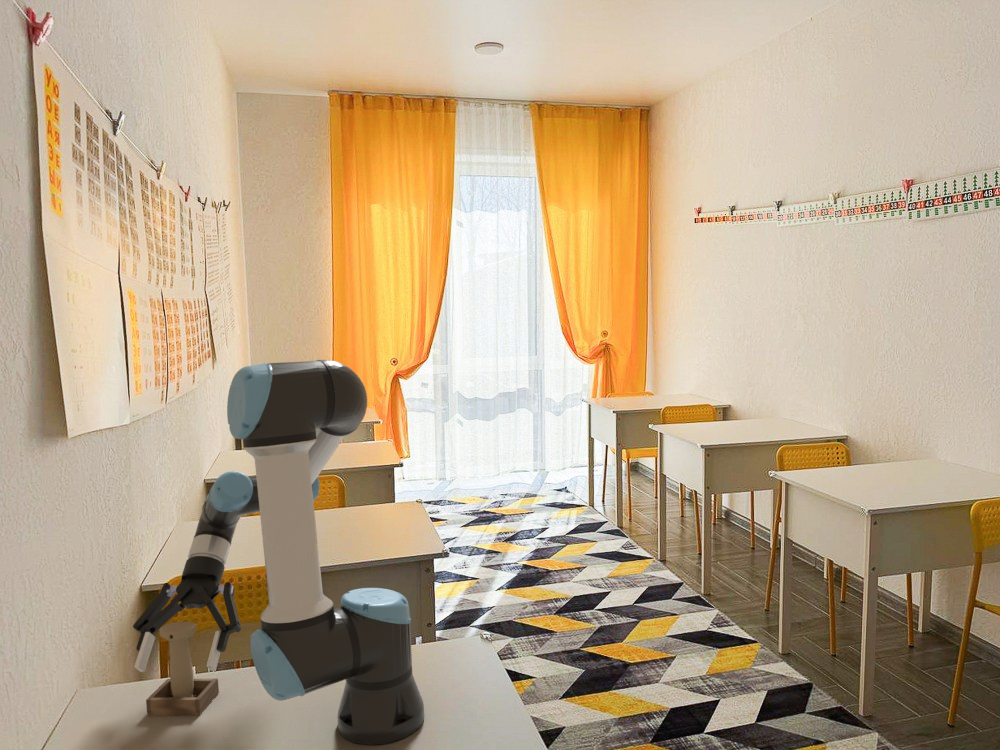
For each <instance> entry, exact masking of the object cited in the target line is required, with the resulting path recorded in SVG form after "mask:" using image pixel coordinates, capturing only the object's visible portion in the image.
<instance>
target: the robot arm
mask: <svg viewBox="0 0 1000 750" xmlns="http://www.w3.org/2000/svg"><path fill="white" fill-rule="evenodd" d="M226 404H227V406H226V415H227V424H228V426H229V427H228V428H229V431H230V432H229V433H230V434H231V436H232V437H233V438H235V439H236V440H237V439H238V440H239V441H242V445H243V446H242V447H243V450H244V452H246V453H248V454H249V455H250V456H252V457H253V459H254V467H255V475H251V476H248V475H247V474H245V473H243V472H241V471H235V470H231V471H227V472H224V473H222V474H220V475H219V476H218V477H217V478H216V480H215V481H214V483H213V484H212V486H211V488H210V490H209V493H208V494H207V495H206V498H205V501H204V502H203V504H202V508H201V513H200V516H199V519H198V524H197V526H196V530H195V534H194V536H193V539H192V542H191V546H190V548H189V552H188V554H187V559H186V561H185V565H184V567H183V570H182V575H181V580H180V582H179V584H177V585H172V584H171V585H170V583H168V582H165V583H163V585H162V587H161V590H160V592H159V593H158V595H157V596H156V597H155V598H154V600H153V601H152V602H151V603H150V604H149V605H148V607H146V609H145V610H144V611H143V613H142V614H141V615H140V616H139V618H138V619H137V620H136V621H135V622H134V624H133V625H132V628H133V629H134V630H135V631H136V632H138V634H140V636H139V638H138V642H137V644H136V651H138V653H137V656H136V657H137V658H136V660H135V663H134V667H133V668H135V669H136V670H137V671H138V672H140V673H145V671H146V669H147V664H148V662H149V659H150V655H151V652H152V649H153V646H154V644H155V643H154V642H155V640H156V636H154V634H155V633H156V632H158V630H160V628H161V627H162V626H164V625H166V624H167V622H168V621H170V620H171V618H174V616H175V615H177V614H178V613H180V612H182V611H183V610H184V609H187V610H188V609H189V610H191V609H192V610H193V609H199V610H201V609H204V608H205V607H206V608H207V609H208V610H209V612H210V615H211V616H212V618H213V619H214V621H215V622H216V624H217V627H218V629H219V630H220V631H219V630H216V631H214V632H215V633H214V636H213V639H212V644H211V648H210V651H209V655H208V659H207V662H206V668H208V669H209V671H211V672H216V670H217V667H218V664H219V659H220V655H221V653H223V652H225V651H226V650H227V646H228V642H229V638H230V635H231V634H233V633H240V632H241V630H242V626H241V622H240V619H239V615H238V611H237V606H236V603H235V599H234V597H235V587H234V585H232V583H231V582H230V581H226V582H225V583H224V584H221V582H222V580H223V579H222V578H223V576H224V572H225V568H226V567H225V565H226V563H227V560H228V557H229V553H230V550H231V546H232V541H233V538H234V535H235V531H236V528H237V524H238V522H239V520H241V518H242V516H243V515H249V514H255V513H259V515H260V516H259V517H260V526H261V536H262V545H263V556H264V564H265V565H264V566H265V573H266V574H265V577H266V585H267V586H266V587H267V595H268V605H267V606H266V608H264V610H263V612H261V614H260V624H261V625H260V626H261V628H260V629H259V628H258V629H257V628H256V630H255V631H253V632H252V633H251V634H250V641H249V642H250V643H249V644H250V652H251V653H250V654H251V657H252V661H253V664H254V668H255V672H256V674H257V677H258V678H259V681H260V683H261V684H262V687H263V689H264V690H265V691H266V693H267V694H268V695H269V696H270V697H271V698H272V699H274V700H276V701H278V702H279V701H287V700H291V699H292V698H296V697H304V696H305V695H307V694H309V693H312V692H315V691H318V690H320V689H323V688H326V687H328V686H331V685H333V684H336V683H339V682H343V681H345V685H344V688H343V689H344V690H343V692H342V697H341V700H340V704H339V707H338V710H337V729H338V732H339V733H340V735H341V736H342V737H343V738H344V739H346V740H347V741H349V742H352V743H356V744H360V745H371V746H372V745H384V744H390V743H393V742H396V741H400V740H402V739H405V738H407V737H409V736H410V735H412V734H413V733H414V732H416V731H417V730H418V729H420V727H421V726H422V725H423V722H424V719H425V705H424V700H423V697H422V695H421V692H420V689H419V688H418V685H417V682H416V680H415V677H414V675H413V660H412V659H413V658H412V656H413V655H412V633H411V632H412V631H411V623H412V618H411V614H410V605H409V602H408V600H407V597H406V596H404V595H403V594H401V593H400V592H398V591H395V590H392V589H389V588H381V587H362V588H355V589H352V590H349V591H346V593H344V594H342V596H341V599H340V605H341V606H338V607H336V608H334V602H333V601H332V600H331V599H330V598H329V597H327V596H326V595H325V594H324V593H323V584H322V583H323V582H322V574H321V563H320V554H319V545H318V544H319V542H318V533H317V525H316V524H317V523H316V514H315V513H316V512H315V504H314V501H315V500H316V499H317V498H318V497H319V493H320V479H319V475H320V474H321V472H322V471H323V469H324V468H325V466H326V465H327V464H328V462H329V461H330V459H331V457H332V456H333V455H334V453H335V452H336V450H337V448H339V445H340V444H341V443H342V441H343V439H344V438H345V437H347V436H350V435H351V434H352V433H354V432H355V431H356V430H357V429H358V428H359V426H360V425H361V423H362V421H363V419H364V418H365V415H366V413H367V408H368V393H367V390H366V387H365V385H364V383H363V381H362V380H361V378H360V377H359V375H358V374H357V373H356V372H355V371H354V370H353V369H351V368H350V367H349V366H348V365H346V364H344V363H341V362H339V361H336V360H333V359H332V360H330V359H316V360H308V361H307V360H306V361H290V362H289V361H286V362H264V363H260V364H253V365H247V366H243V367H242V368H240V369H239V370H238V371H237V372H236V373H235V374H234V376H233V378H232V380H231V382H230V385H229V390H228V396H227V403H226ZM175 594H177V595H175ZM219 594H221V595H222V597H223V599H224V604H225V605H224V606H225V608H226V613H227V617H228V621H229V623H228V624H227V622H226V620H225V618H224V617H223V615H222V613H221V611H220V610H219V608H218V606H217V604H216V603H215V601H214V599H215V598H216V597H217V596H218V595H219ZM170 599H171V600H170ZM169 601H170V602H169Z"/></svg>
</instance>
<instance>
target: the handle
mask: <svg viewBox="0 0 1000 750" xmlns="http://www.w3.org/2000/svg"><path fill="white" fill-rule="evenodd" d="M196 632H197V623H195V622H193V621H176V622H169V623H165V624H164V625H163V626H162V627H160V628H159V636H160V638H162V639H165V640H167V641H168V644H169V677H170V678H169V679H170V680H171V689H172V694H173V696H172V698H186V697H194V696H193V695H192V694H193V688H194V679H195V678H194V670H193V663H192V661H193V660H192V656H191V649H190V643H189V642H190V637H192V636H193V635H194V634H195V633H196Z"/></svg>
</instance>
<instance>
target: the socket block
mask: <svg viewBox="0 0 1000 750" xmlns="http://www.w3.org/2000/svg"><path fill="white" fill-rule="evenodd" d="M193 679H194V688H193V694H192V695H199V696H193V697H186V698H174V697H173V694H172V689H171V680H170V678H167V679H166V680H164V682H162V683H161V685H160V686H159V687H157V688H156V690H154V692H153V693H151V695H150V696H148V698H147V699H145V703H146V713H147V714H146V715H147V716H148V717H152V716H155V717H158V716H159V717H162V716H167V717H168V716H171V717H172V716H176V717H177V716H180V717H181V716H182V715H184V716H201V715H202V714H203V713H204V712H205V711H206V709H207V708H208V707H209V706H210V705H211V703H212V702H213V701H214V700H215V699H216V698H217V696H218V695H219V694H220V691H219V689H220V688H219V678H217V677H216V678H193ZM218 693H219V694H218ZM214 698H215V699H214ZM213 699H214V700H213ZM212 700H213V701H212ZM209 704H210V705H209ZM208 705H209V706H208ZM207 706H208V707H207ZM204 710H205V711H204ZM203 711H204V712H203ZM202 712H203V713H202ZM200 714H201V715H200Z"/></svg>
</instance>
